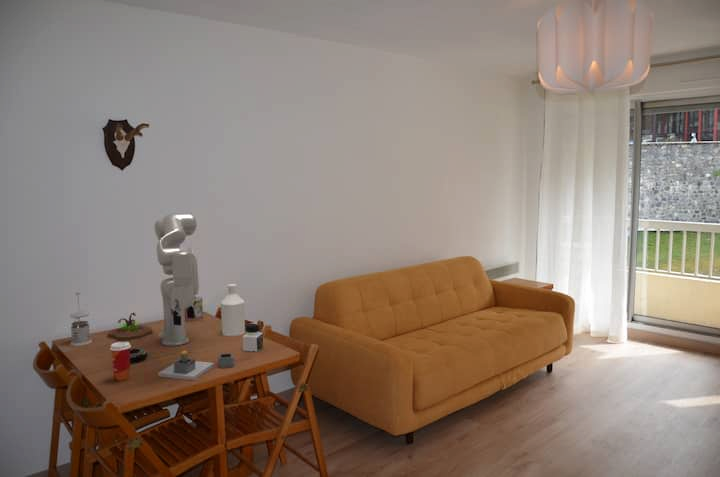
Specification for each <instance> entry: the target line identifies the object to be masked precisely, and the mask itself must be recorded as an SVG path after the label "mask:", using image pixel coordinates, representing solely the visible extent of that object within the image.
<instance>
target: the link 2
mask: <svg viewBox="0 0 720 477" xmlns="http://www.w3.org/2000/svg"><path fill="white" fill-rule="evenodd" d="M217 359H218V360H217V362H218V363H217V364H218V368H223V369H224V368H233V367H234V362H235V361H234V360H235V359H234V352H230V353H226V352H225V353H219V354H218V357H217Z"/></svg>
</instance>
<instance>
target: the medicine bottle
mask: <svg viewBox="0 0 720 477" xmlns="http://www.w3.org/2000/svg"><path fill="white" fill-rule="evenodd" d="M263 339H264V334H263V332H260V324H258V323H257V322H250V323H247V324H245V333H244V334H243V335H242V351H244V352H253V351H255V352H256V353H258V352H259V351H260V350H261V349H263V347H264V340H263ZM255 352H254V353H255Z"/></svg>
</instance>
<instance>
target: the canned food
mask: <svg viewBox="0 0 720 477" xmlns="http://www.w3.org/2000/svg"><path fill="white" fill-rule="evenodd" d="M195 302H196V304H195V309H194V313H195V318H194V319H193V318H187V308H186V309H184V312H185V323H197V322H201V321H203V320H204V311H203V309H204V308H203V297H202V296H196V301H195ZM188 309H189V308H188Z"/></svg>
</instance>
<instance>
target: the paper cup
mask: <svg viewBox="0 0 720 477" xmlns="http://www.w3.org/2000/svg"><path fill="white" fill-rule="evenodd" d="M131 347H132V345H131V344H130V342H129V341H118V342H114V343H111V345H110V348H109V349H110V353H111V361H112V369H113V376H114V377H113V378H114V380H115V381H119V382H120V381H121V380H122V381H126V380H128V379H130V377H131V363H130V349H131Z"/></svg>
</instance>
